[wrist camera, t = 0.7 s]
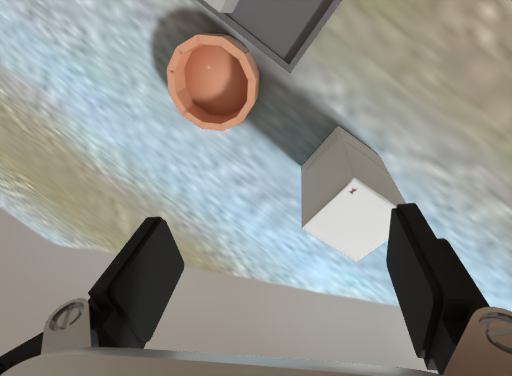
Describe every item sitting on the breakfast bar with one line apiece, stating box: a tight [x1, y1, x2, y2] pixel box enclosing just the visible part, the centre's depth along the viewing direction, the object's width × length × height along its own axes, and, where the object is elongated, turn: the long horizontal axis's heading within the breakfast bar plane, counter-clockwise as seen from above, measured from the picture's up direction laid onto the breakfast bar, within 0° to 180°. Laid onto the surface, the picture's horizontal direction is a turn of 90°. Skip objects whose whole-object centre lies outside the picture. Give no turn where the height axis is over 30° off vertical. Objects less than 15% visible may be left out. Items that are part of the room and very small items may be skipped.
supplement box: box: [301, 126, 406, 262], centre depth 30 cm, size 7×7×13 cm
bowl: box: [167, 33, 260, 131], centre depth 30 cm, size 10×10×4 cm
